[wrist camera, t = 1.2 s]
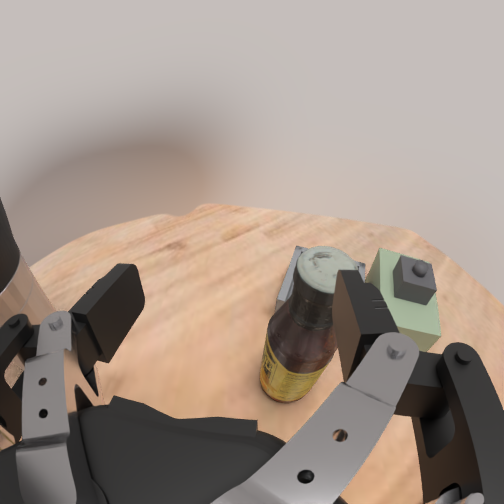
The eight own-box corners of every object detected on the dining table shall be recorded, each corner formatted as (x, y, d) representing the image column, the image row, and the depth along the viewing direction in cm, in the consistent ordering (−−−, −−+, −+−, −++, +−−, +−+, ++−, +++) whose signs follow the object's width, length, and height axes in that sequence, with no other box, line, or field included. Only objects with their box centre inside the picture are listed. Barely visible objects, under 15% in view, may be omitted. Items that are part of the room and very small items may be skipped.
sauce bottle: (268, 353, 33) (292, 219, 20) (315, 366, 31) (375, 241, 18) (250, 398, 28) (264, 284, 15) (302, 413, 27) (374, 313, 14)
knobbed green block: (270, 328, 36) (280, 268, 28) (294, 260, 46) (305, 203, 38) (415, 363, 31) (459, 315, 23) (411, 292, 41) (440, 241, 33)
